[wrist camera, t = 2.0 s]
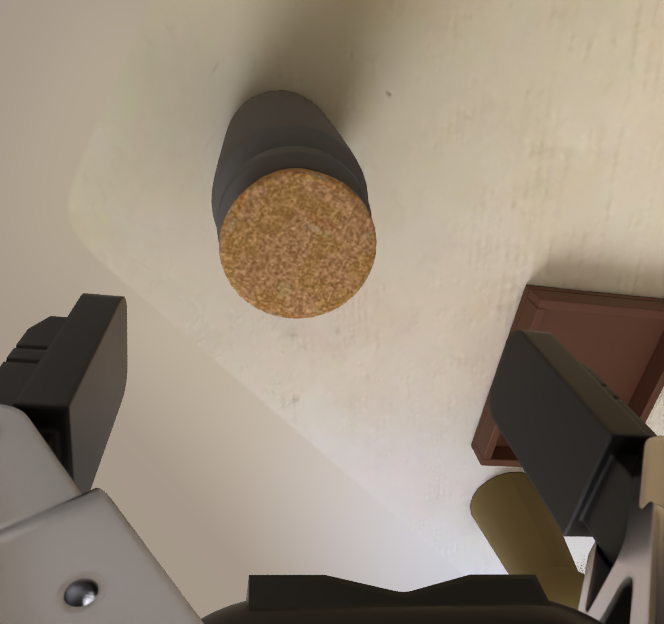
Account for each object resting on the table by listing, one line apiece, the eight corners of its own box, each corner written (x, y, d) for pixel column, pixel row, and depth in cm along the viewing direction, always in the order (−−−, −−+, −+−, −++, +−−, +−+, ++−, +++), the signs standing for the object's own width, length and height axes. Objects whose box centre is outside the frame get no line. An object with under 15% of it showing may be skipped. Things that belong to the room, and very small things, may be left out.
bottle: (202, 152, 29) (158, 261, 16) (274, 63, 28) (290, 104, 15) (285, 222, 32) (306, 367, 19) (357, 143, 30) (435, 241, 17)
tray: (525, 284, 36) (540, 299, 34) (678, 300, 38) (700, 314, 36) (470, 445, 41) (480, 465, 40) (605, 451, 43) (621, 470, 42)
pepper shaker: (526, 529, 47) (597, 664, 37) (459, 525, 45) (515, 662, 36) (555, 475, 44) (639, 604, 34) (485, 468, 43) (552, 600, 33)
